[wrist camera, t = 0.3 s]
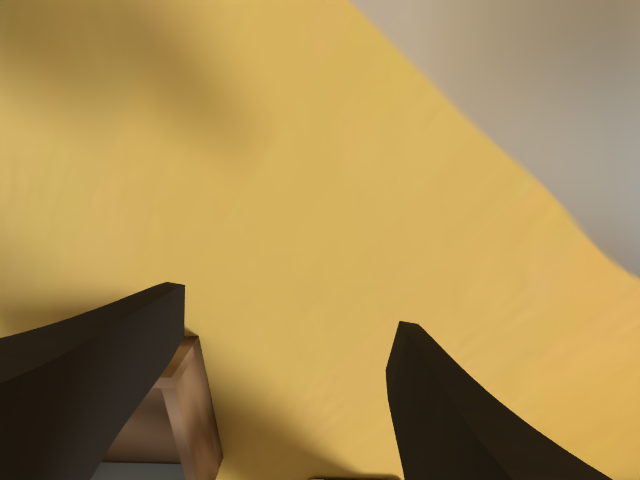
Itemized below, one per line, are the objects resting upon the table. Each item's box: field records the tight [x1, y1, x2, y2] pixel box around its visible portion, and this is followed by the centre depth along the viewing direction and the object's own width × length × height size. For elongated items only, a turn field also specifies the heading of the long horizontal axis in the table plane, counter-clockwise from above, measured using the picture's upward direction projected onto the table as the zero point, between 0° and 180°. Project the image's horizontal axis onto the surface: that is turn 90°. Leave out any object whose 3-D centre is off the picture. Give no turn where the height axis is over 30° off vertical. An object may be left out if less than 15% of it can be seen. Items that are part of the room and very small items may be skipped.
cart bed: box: [101, 336, 223, 480], centre depth 24 cm, size 12×11×4 cm
